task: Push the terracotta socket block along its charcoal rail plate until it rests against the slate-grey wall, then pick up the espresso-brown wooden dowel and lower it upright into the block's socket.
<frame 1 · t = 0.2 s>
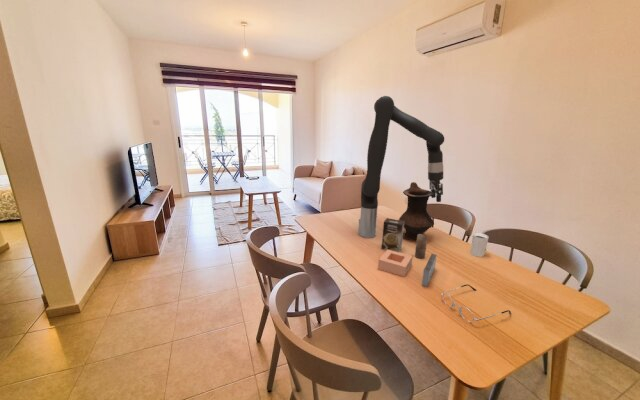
hand: (436, 199, 143), 22 cm above the table, tool pointing down, fingers open, 8 cm apart
coffee box: (391, 251, 133), on the table
drinking glass: (477, 254, 130), on the table
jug: (413, 236, 151), on the table
holder: (395, 262, 114), point 4 cm above the table, slide at 7.0 cm
rail base: (406, 272, 113), on the table
eyeglasses: (473, 308, 92), on the table
dowel: (419, 259, 125), on the table
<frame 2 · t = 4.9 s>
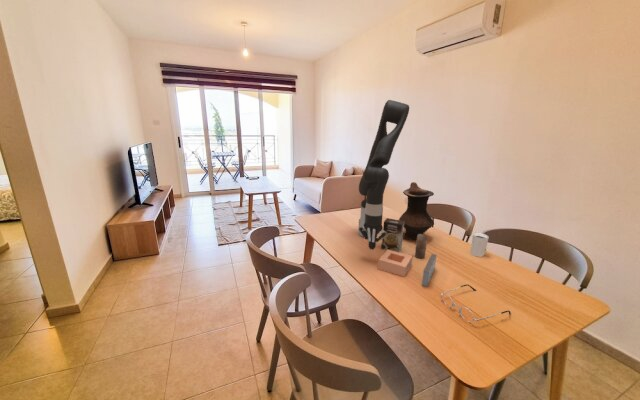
hand: (371, 248, 119), 7 cm above the table, tool pointing down, fingers closed
nothing on the table moved.
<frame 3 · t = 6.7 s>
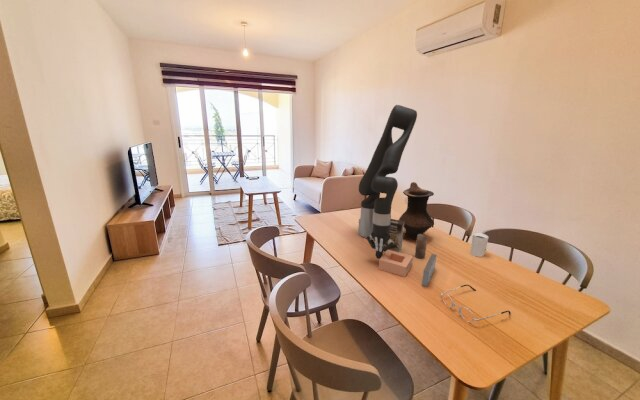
hand: (378, 257, 118), 4 cm above the table, tool pointing down, fingers closed
holder: (395, 262, 114), point 4 cm above the table, slide at 6.8 cm, touching gripper
everything else where it was.
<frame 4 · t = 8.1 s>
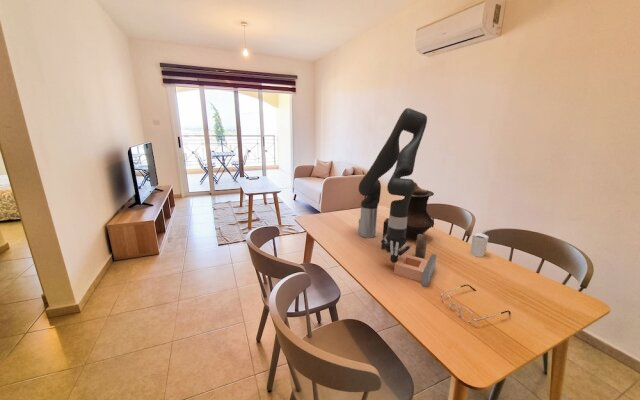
hand: (393, 262, 115), 4 cm above the table, tool pointing down, fingers closed
holder: (411, 266, 111), point 4 cm above the table, slide at 0.0 cm, touching gripper
everything else where it was.
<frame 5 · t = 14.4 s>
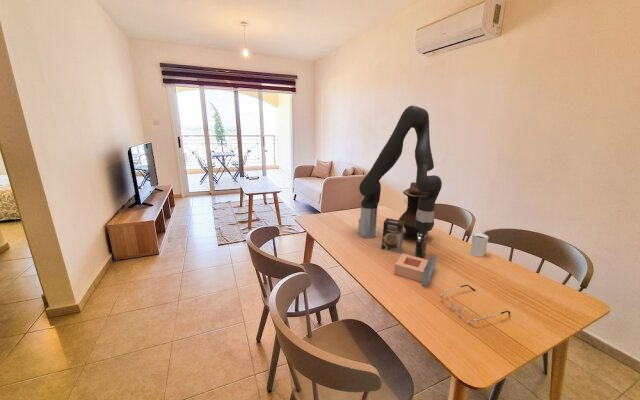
hand: (420, 252, 124), 3 cm above the table, tool pointing down, fingers closed on dowel, 4 cm apart
holder: (411, 266, 111), point 4 cm above the table, slide at 0.0 cm
dowel: (419, 258, 125), on the table, touching gripper
everything else where it was.
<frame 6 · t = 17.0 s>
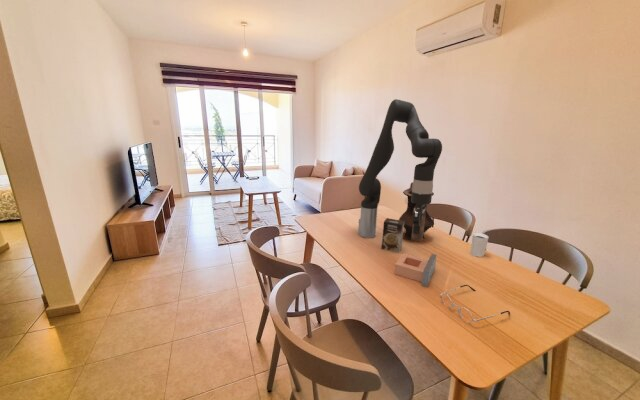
hand: (417, 231, 107), 20 cm above the table, tool pointing down, fingers closed on dowel, 4 cm apart
dowel: (416, 238, 108), point 16 cm above the table, touching gripper
everything else where it was.
when the fingers open (7 cm above the table, at t = 19.8 s): dowel drops 1 cm, resting on holder.
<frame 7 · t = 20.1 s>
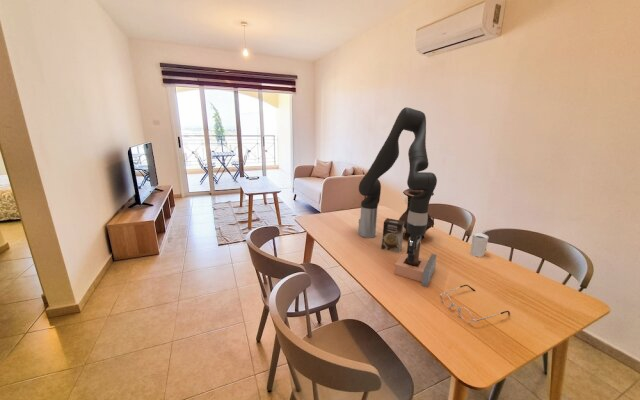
hand: (412, 258, 110), 8 cm above the table, tool pointing down, fingers open, 7 cm apart
holder: (411, 266, 111), point 4 cm above the table, slide at 0.0 cm, touching dowel
dowel: (411, 269, 111), point 2 cm above the table, touching holder
everything else where it was.
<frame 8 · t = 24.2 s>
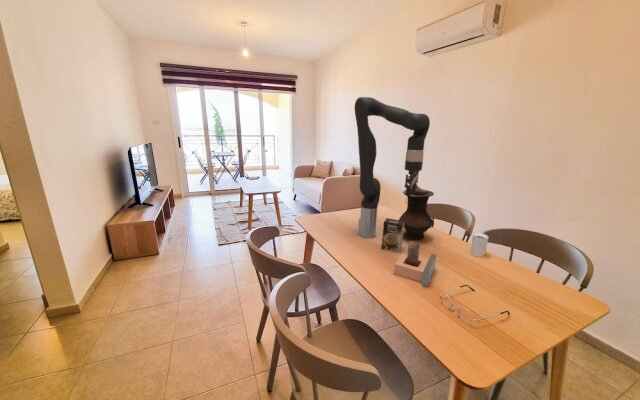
hand: (410, 194, 123), 30 cm above the table, tool pointing down, fingers open, 8 cm apart
nothing on the table moved.
at the end: holder slide at 0.0 cm; dowel 0.1 cm off-centre on the holder, point 1.0 cm above the holder's base; dowel tilted 1° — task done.
